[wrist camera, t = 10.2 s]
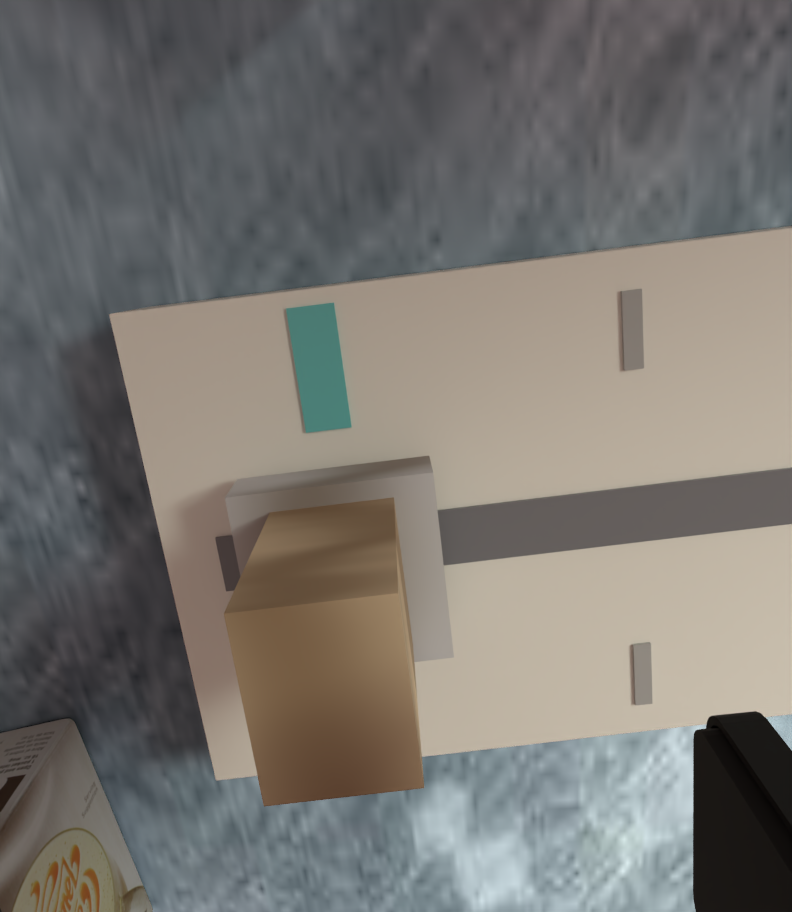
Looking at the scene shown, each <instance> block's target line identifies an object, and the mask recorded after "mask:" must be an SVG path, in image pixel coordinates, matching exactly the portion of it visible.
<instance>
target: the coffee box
mask: <svg viewBox="0 0 792 912" xmlns="http://www.w3.org/2000/svg"><path fill="white" fill-rule="evenodd" d="M0 909H1V912H152V911H153V908H152V906H151V903H150V900H149V898H148V895H147V893H146V891H145V888H144V886H143V884H142V881H141V879H140V877H139V874H138V872H137V869H136V867H135V864H134V862H133V860H132V857H131V855H130V852H129V850H128V848H127V845H126V843H125V841H124V838H123V836H122V833H121V831H120V828H119V826H118V824H117V821H116V819H115V816H114V814H113V812H112V809H111V807H110V804H109V802H108V800H107V797H106V795H105V792H104V790H103V788H102V785H101V783H100V781H99V778H98V776H97V774H96V771H95V769H94V766H93V764H92V762H91V759H90V757H89V755H88V752H87V750H86V747H85V745H84V743H83V740H82V738H81V736H80V733H79V731H78V729H77V726H76V724H75V722H74V721H73V720H72V719H61V720H56V721H52V722H48V723H43V724H39V725H34V726H30V727H25V728H21V729H16V730H12V731H8V732H3V733H0Z"/></svg>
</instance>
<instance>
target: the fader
mask: <svg viewBox="0 0 792 912" xmlns="http://www.w3.org/2000/svg"><path fill="white" fill-rule="evenodd" d="M225 501H226V506H227V511H228V516H229V521H230V526H231V531H232V536H233V541H234V546H235V551H236V556H237V562H238V567H239V572H240V579H239V581H238V583H237V586H236V588H235V590H234V592H233V594H232V597H231V599H230V601H229V603H228V605H227V608H226V610H225V612H224V618H225V623H226V628H227V632H228V637H229V642H230V647H231V651H232V656H233V661H234V666H235V670H236V675H237V680H238V685H239V690H240V694H241V699H242V704H243V709H244V713H245V718H246V723H247V728H248V732H249V737H250V742H251V747H252V752H253V756H254V761H255V766H256V771H257V775H258V780H259V785H260V790H261V794H262V799H263V804H264V806H271V805H280V804H289V803H297V802H306V801H315V800H324V799H332V798H341V797H350V796H358V795H367V794H376V793H385V792H393V791H402V790H411V789H419V788H424V779H423V766H422V753H421V740H420V728H419V715H418V702H417V689H416V676H415V663H414V662H420V661H428V660H437V659H445V658H454V653H453V644H452V635H451V626H450V618H449V609H448V600H447V591H446V582H445V573H444V564H443V555H442V546H441V537H440V528H439V520H438V511H437V502H436V493H435V484H434V475H433V469H432V465H431V461H430V457H429V456H421V457H413V458H405V459H397V460H389V461H380V462H372V463H364V464H356V465H348V466H339V467H331V468H323V469H315V470H307V471H298V472H290V473H282V474H274V475H266V476H258V477H249V478H241V479H237V481H236V482H235V483H234V485H233V486H232V488H231V489H230V491H229V492H228V494H227V495H226V497H225Z"/></svg>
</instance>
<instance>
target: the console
mask: <svg viewBox="0 0 792 912" xmlns="http://www.w3.org/2000/svg"><path fill="white" fill-rule="evenodd" d="M109 316H110V320H111V325H112V329H113V333H114V338H115V342H116V346H117V351H118V355H119V359H120V364H121V368H122V373H123V377H124V381H125V386H126V390H127V394H128V399H129V403H130V407H131V412H132V416H133V420H134V425H135V429H136V434H137V438H138V442H139V447H140V451H141V455H142V460H143V464H144V468H145V473H146V477H147V481H148V486H149V490H150V495H151V499H152V503H153V508H154V512H155V516H156V521H157V525H158V529H159V534H160V538H161V543H162V547H163V551H164V556H165V560H166V564H167V569H168V573H169V577H170V582H171V586H172V590H173V595H174V599H175V604H176V608H177V612H178V617H179V621H180V625H181V630H182V634H183V638H184V643H185V647H186V651H187V656H188V660H189V665H190V669H191V673H192V678H193V682H194V686H195V691H196V695H197V699H198V704H199V708H200V712H201V717H202V721H203V726H204V730H205V734H206V739H207V743H208V747H209V752H210V756H211V760H212V765H213V769H214V774H215V778H216V780H225V779H233V778H242V777H251V776H258V775H257V771H256V766H255V761H254V756H253V752H252V747H251V742H250V737H249V732H248V728H247V723H246V718H245V713H244V709H243V704H242V699H241V694H240V690H239V685H238V680H237V675H236V670H235V666H234V661H233V656H232V651H231V647H230V642H229V637H228V632H227V628H226V623H225V618H224V612H225V610H226V608H227V605H228V603H229V601H230V599H231V597H232V594H233V592H234V590H235V588H236V586H237V583H238V581H239V579H240V572H239V567H238V562H237V556H236V551H235V546H234V541H233V536H232V531H231V526H230V521H229V516H228V511H227V506H226V501H225V497H226V495H227V494H228V492H229V491H230V489H231V488H232V486H233V485H234V483H235V482H236V481H237V479H241V478H249V477H258V476H266V475H274V474H282V473H290V472H298V471H307V470H315V469H323V468H331V467H339V466H348V465H356V464H364V463H372V462H380V461H389V460H397V459H405V458H413V457H421V456H429V457H430V461H431V465H432V469H433V475H434V484H435V493H436V502H437V511H438V520H439V528H440V537H441V546H442V555H443V564H444V573H445V582H446V591H447V600H448V609H449V618H450V626H451V635H452V644H453V653H454V658H445V659H437V660H428V661H420V662H414V663H415V676H416V689H417V702H418V715H419V728H420V740H421V753H422V757H424V756H433V755H441V754H450V753H459V752H467V751H476V750H485V749H493V748H502V747H511V746H519V745H528V744H537V743H545V742H554V741H563V740H571V739H580V738H589V737H597V736H606V735H615V734H624V733H632V732H641V731H650V730H658V729H667V728H676V727H684V726H693V725H702V724H707V721H708V718H709V717H710V716H713V715H723V714H733V713H743V712H753V711H757V712H759V713H761V714H762V715H763V716H764V717H771V716H780V715H788V714H792V226H785V227H777V228H770V229H762V230H754V231H746V232H738V233H730V234H722V235H714V236H706V237H698V238H690V239H682V240H674V241H667V242H659V243H651V244H643V245H635V246H627V247H619V248H611V249H603V250H595V251H587V252H579V253H571V254H564V255H556V256H548V257H540V258H532V259H524V260H516V261H508V262H500V263H492V264H484V265H476V266H469V267H461V268H453V269H445V270H437V271H429V272H421V273H413V274H405V275H397V276H389V277H381V278H373V279H366V280H358V281H350V282H342V283H334V284H326V285H318V286H310V287H302V288H294V289H286V290H278V291H270V292H263V293H255V294H247V295H239V296H231V297H223V298H215V299H207V300H199V301H191V302H183V303H175V304H168V305H160V306H152V307H145V308H140V309H134V310H129V311H124V312H118V313H113V314H109Z"/></svg>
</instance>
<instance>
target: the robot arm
mask: <svg viewBox="0 0 792 912" xmlns="http://www.w3.org/2000/svg"><path fill="white" fill-rule="evenodd" d="M693 895H694V904H695V909H696V912H792V751H791V749H790V748H789V747H788V746H787V744H786V743H785V742H784V741H783V739H782V738H781V737H780V735H779V734H778V733H777V732H776V730H775V729H774V728H773V727H772V725H771V724H770V723H769V721H768V720H767V719H766V718H765V717H764V716H763V715H762V714H761V713H759V712H757V711H753V712H743V713H733V714H723V715H713V716H710V717H709V718H708V721H707V726H706V729H701V730H696V731H695V733H694V813H693ZM0 912H1V909H0Z"/></svg>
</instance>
